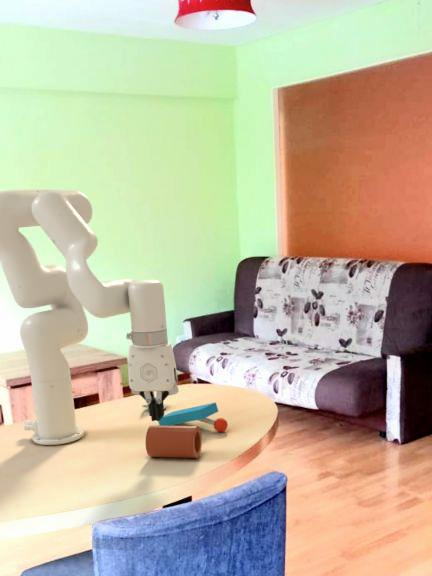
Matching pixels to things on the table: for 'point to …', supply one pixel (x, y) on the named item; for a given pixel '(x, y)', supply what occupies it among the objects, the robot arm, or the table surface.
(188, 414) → the lever
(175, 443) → the jar
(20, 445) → the table surface
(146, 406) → the pacifier
